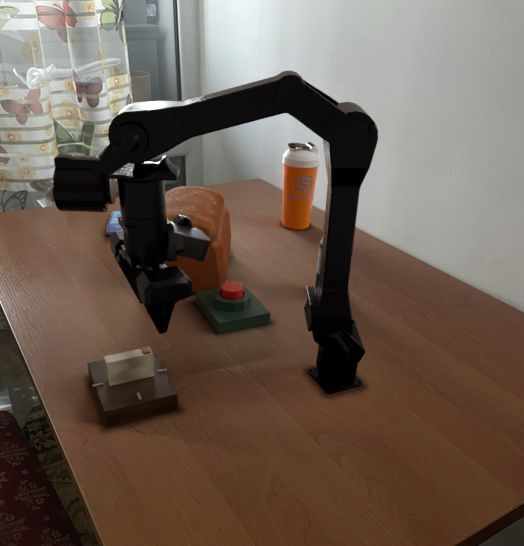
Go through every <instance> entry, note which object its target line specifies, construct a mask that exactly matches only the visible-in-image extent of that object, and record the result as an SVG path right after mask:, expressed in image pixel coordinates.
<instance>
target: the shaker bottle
mask: <svg viewBox="0 0 524 546" xmlns="http://www.w3.org/2000/svg"><path fill="white" fill-rule="evenodd" d="M287 147H288V149H287V150H285V151H284V153H283V154H282V164H283V167H282V169H283V175H282V209H281V210H282V211H281V213H282V214H281V224H282V226H283V227H285V228H287V229H290V230H305V229H308V228H309V227H310V223H311V218H312V217H311V216H312V210H313V202H314V196H315V190H316V183H317V176H318V170H319V166H320V161H321V156H320V154H319V150H320V149H319V147H318V145H316V144H314V143H313V142H311V141H308V142H306V143H302V142H289V143H287Z"/></svg>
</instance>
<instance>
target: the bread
mask: <svg viewBox="0 0 524 546" xmlns="http://www.w3.org/2000/svg"><path fill="white" fill-rule="evenodd" d="M165 201H166V216H167V219H168V220H169V221H170V222H172V221H173V220H174V219H175V217H176V216H177V215H178V214H179V215H183V216H187V217H188V218H189V219H190V220H191V222H192V228H193V227H196V228H197V229H198V230H201V231H202V232H203V233H204V234H205V235H206V236H207V237H208V238H209V239H210V240H211V241H210V244H209V247H208V251H207V254H206V257H205V260H204V261H203V262H200V261H197V260H196V259H192V258H186V257H181V256H178V255H177V261H173V262H168V261H164V264H165V265H166V267H172V266H177V267H178V268H180V269H181V270H182V271H184V273H185V274H186V275H187V276H188V277H189V279H190V280H191V281H192V291H193V294H195V292H200V291H206V290H212V289H217V288H218V287H220V286H222V284H224V283H226V282H227V279H228V271H229V266H230V265H229V264H230V257H231V255H230V253H231V245H232V244H231V243H232V230H231V217H230V216H231V215H230V211H229V210H228V209H227V207H226V206H225V198H224V197H223V195H221V193H220V192H219V191H217V190H214V189H210V188H208V187H205V186H197V185H182V186H177V187H174V188H171V189H170V190H169V191H167V193H165Z"/></svg>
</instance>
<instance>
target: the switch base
mask: <svg viewBox="0 0 524 546" xmlns="http://www.w3.org/2000/svg"><path fill="white" fill-rule="evenodd" d="M151 351H152V353H153V364H154V376H152V377H148V378H143V379H139V380H135V381H130V382H126V383H121V384H117V385H112V386H109V384H108V381H107V378H106V371H105V364H104V359H100V360H95V361H91V362H87V363H86V364H87V369H88V374H89V375H88V377H89V381H90V384H91V386H92V389H93V392H94V395H95V398H96V401H97V404H98V406H99V409H100V412H101V415H102V418H103V420H104V423H105V426H106V428H107V429H111V428H114V427H118V426H121V425H125V424H130V423H134V422H137V421H142V420H147V419H149V418H153V417H157V416H161V415H165V414H169V413H172V412H176V411H179V407H178V394H177V392H176V389H175V387H174V385H173V384H172V382H171V380H170V378H169V377H168V374H167V373H166V371H168V369H167V368H164V367H163V365H162V363H161V362H160V360H159V358H158V356H157V354H156V352H155V351H154V349H151Z"/></svg>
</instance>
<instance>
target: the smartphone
mask: <svg viewBox="0 0 524 546" xmlns="http://www.w3.org/2000/svg"><path fill="white" fill-rule="evenodd" d="M118 216H121V210H120V209H117V210H112V212H111V215H110V218H109V220H108V224H107V226H106V229H105V233H106V234H105V235H108V236H111V235H112V234H113V233H114V232H115V231H120V230H123V229H122V228H121V226H120V225H119V223H118Z"/></svg>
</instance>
